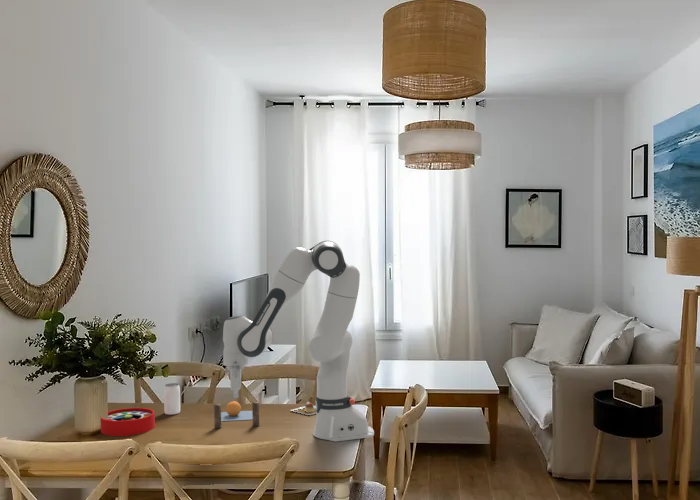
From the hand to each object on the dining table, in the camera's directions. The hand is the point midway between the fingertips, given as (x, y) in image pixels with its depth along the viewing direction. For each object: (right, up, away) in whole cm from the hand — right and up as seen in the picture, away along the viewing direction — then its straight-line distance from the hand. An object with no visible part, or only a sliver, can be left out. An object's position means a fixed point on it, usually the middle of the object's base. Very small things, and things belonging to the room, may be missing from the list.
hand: (236, 397), depth 252 cm
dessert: (+25, -14, +36) cm, 46 cm away
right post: (+5, -14, +14) cm, 21 cm away
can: (-33, -15, +35) cm, 51 cm away
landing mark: (-4, -14, +29) cm, 32 cm away
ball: (-6, -11, +29) cm, 32 cm away
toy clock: (-44, -16, +13) cm, 49 cm away
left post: (-9, -15, +12) cm, 21 cm away
